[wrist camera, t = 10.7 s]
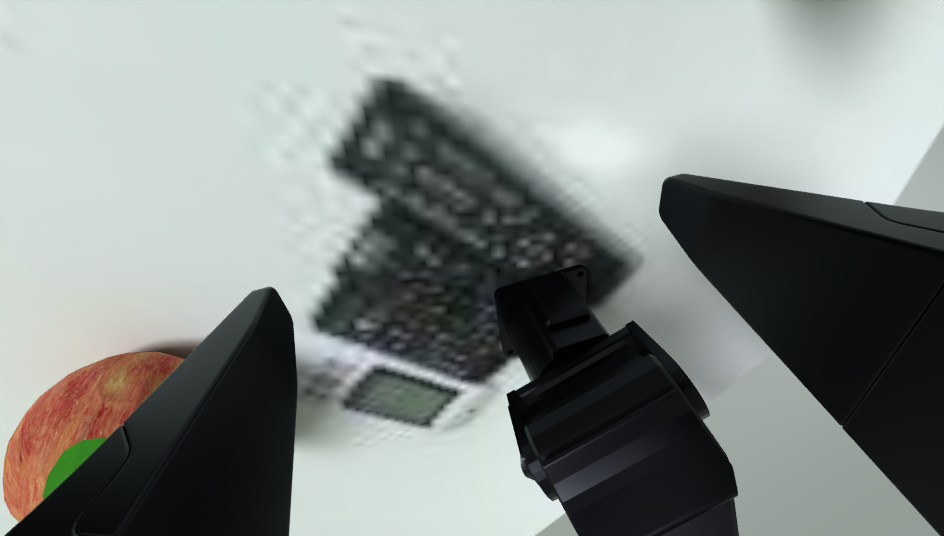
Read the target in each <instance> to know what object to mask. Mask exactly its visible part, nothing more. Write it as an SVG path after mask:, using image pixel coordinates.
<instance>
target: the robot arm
mask: <svg viewBox="0 0 944 536" xmlns="http://www.w3.org/2000/svg"><path fill="white" fill-rule="evenodd" d="M659 214H660V217H661V219H662V221H663V222H664V223H665V225H666V226H667V228H668V229H669V230H670V232H671V233H672V234H673V236H674V237H675V239H676V240H677V241H678V243H679V244H680V245H681V247H682V248H683V250H684V251H685V252H686V254H687V255H688V257H689V258H690V259H691V260H692V262H693V263H694V264H695V266H696V267H697V268H698V269H699V270H700V271H701V273H702V274H703V275H704V276H705V277H706V278H707V279H708V280H709V281H710V282H711V284H712V285H713V286H714V287H715V288H716V289H717V290H718V291H719V292H720V293H721V295H722V296H723V297H724V298H725V299H726V300H727V301H728V302H729V303H730V304H731V306H732V307H733V308H734V309H735V310H736V311H737V312H738V313H739V314H740V315H741V317H742V318H743V319H744V320H745V321H746V322H747V323H748V324H749V325H750V326H751V328H752V329H753V330H754V331H755V332H756V333H757V334H758V335H759V336H760V337H761V339H762V340H763V341H764V342H765V343H766V344H767V345H768V346H769V347H770V348H771V350H772V351H773V352H774V353H775V354H776V355H777V356H778V357H779V358H780V359H781V360H782V362H783V363H784V364H785V365H786V366H787V367H788V368H789V369H790V370H791V372H792V373H793V374H794V375H795V376H796V377H797V378H798V379H799V380H800V381H801V383H802V384H803V385H804V386H805V387H806V388H807V389H808V390H809V391H810V392H811V394H812V395H813V396H814V397H815V398H816V399H817V400H818V401H819V402H820V403H821V405H822V406H823V407H824V408H825V409H826V410H827V411H828V412H829V413H830V414H831V416H832V417H833V418H834V419H835V420H836V421H837V422H838V423H839V424H840V425H842V426H843V427H842V428H843V429H844V430H845V431H846V433H847V434H848V435H849V436H850V437H851V438H852V439H853V440H854V441H855V442H856V443H857V445H858V446H859V447H860V448H861V449H862V450H863V451H864V452H865V453H866V455H868V457H869V458H870V459H871V460H872V461H873V462H874V463H875V464H876V466H877V467H878V468H879V469H880V470H881V471H882V472H883V473H884V474H885V475H886V477H887V478H888V479H889V480H890V481H891V482H892V483H893V484H894V485H895V486H896V488H897V489H898V490H899V491H900V492H901V493H902V494H903V495H904V496H905V498H906V499H907V500H908V501H909V502H910V503H911V504H912V505H913V506H914V507H915V509H916V510H917V511H918V512H919V513H920V514H921V515H922V516H923V517H924V518H925V520H926V521H927V522H928V523H929V524H930V525H931V526H932V527H933V528H934V529H935V531H936V532H937V533H938V534H939V535H940V536H944V212H936V211H928V210H921V209H914V208H907V207H900V206H893V205H886V204H880V203H873V202H865V203H864V202H863V201H860V200H853V199H847V198H840V197H833V196H827V195H820V194H814V193H807V192H801V191H794V190H788V189H781V188H775V187H768V186H761V185H755V184H748V183H742V182H735V181H729V180H722V179H716V178H709V177H702V176H696V175H689V174H679V175H675V176H672V177H668V178H667V179H665V180H664V182H663V185H662V192H661V199H660V206H659ZM580 271H581V272H580ZM578 272H580V273H578ZM577 273H578V274H577ZM502 294H504V295H503V296H501V295H502ZM586 295H587V270H586V269H585V268H584V266H583V265H576V266H573V267H570V268H566V269H563V270H559V271H556V272H552V273H549V274H546V275H542V276H539V277H535V278H532V279H529V280H525V281H522V282H518V283H515V284H511V285H508V286H505V287H501V288H499V289H497V290H496V291H495V293H494V298H495V305H496V311H497V318H498V324H499V331H500V337H501V344H502V350H503V352H504V355H505V356H507V357H510V356H514V355H517V354H518V356H519V358H520V360H521V362H522V364H523V366H524V368H525V370H526V372H527V375H528V377H529V379H530V381H531V382H530V383H528V384H526V385H525V386H523V387H521V388H519V389H518V390H516V391H515V390H513V391H511V392H510V393H508V394H507V398H508V402H509V406H508V409H509V413H510V417H511V421H512V424H513V428H514V432H515V436H516V440H517V444H518V448H519V451H520V459H521V468H522V471H523V473H524V475H525V476H526V477H527V478H530V479H532V480H535V481H536V482H537V484H538V485H539V486H540V487H541V489H542V490H543V492H544V493H545V494H546V496H547V497H548V498H549V499H550V500H552V501H554V500H556V499H559V501H560V502H561V504H562V506H563V508H564V510H565V512H566V514H567V515H568V517H569V519H570V521H571V523H572V525H573V527H574V528H575V530H576V532H577V534H578V535H579V536H739V533H738V525H737V518H736V510H735V502H734V497H736V496H738V491H737V485H736V481H735V476H734V471H733V467H732V465H731V463H730V462H729V460H728V457H727V455H726V454H725V452H724V451H723V449H722V448H721V446H720V445H719V443H718V442H717V441H716V439H715V438H714V436H713V435H712V433H711V432H710V431H709V429H708V428H707V426H706V425H705V424H704V422H703V419H705V418H707V417H708V416H710V413H709V410H708V408H707V406H706V404H705V402H704V400H703V398H702V397H701V395H700V394H699V392H698V391H697V389H696V388H695V386H694V385H693V383H692V382H691V380H690V379H689V378H688V376H687V375H686V374H685V373H684V371H683V370H682V369H681V368H680V366H679V365H678V364H677V363H676V362H675V361H674V360H673V359H672V358H671V356H670V355H669V354H667V353H666V352H665V351H664V350H663V349H662V348H661V347H660V346H659V345H658V344H657V343H656V342H655V341H654V340H653V339H652V338H651V337H650V336H649V335H648V334H647V333H646V332H645V331H644V330H643V329H642V328H641V327H640V326H639V325H637V324H636V323H635V322H634V321H631V322H630V323H628V324H626V325H625V326H626V327H624V328H623V329H621V330H619V331H617V332H616V333H614V334H612V335H609V333H608V332H607V331H606V329H605V328H604V327H603V325H602V324H601V323H600V321H599V320H598V318H597V317H596V316H595V314H594V313H593V312H592V310H591V309H590V308H589V306H588V305H587V304H586ZM296 407H297V369H296V355H295V342H294V328H293V321H292V317H291V315H290V313H289V311H288V310H287V308H286V306H285V304H284V303H283V301H282V299H281V297H280V296H279V294H278V292H277V291H276V290H275V289H274V288H273V287H266V288H263V289H259V290H255V291H253V292H251V293H250V294H249V295H248V296H247V297H246V298H245V299H244V300H243V301H242V302H241V303H240V304H239V305H238V306H237V307H236V308H235V309H234V310H233V311H232V312H231V313H230V314H229V315H228V316H227V317H226V318H225V319H224V320H223V321H222V322H221V323H220V324H219V325H218V326H217V327H216V328H215V329H214V330H213V331H212V332H211V333H210V334H209V335H208V336H207V337H206V339H205V340H204V341H203V342H202V343H201V344H200V345H199V346H198V347H197V348H196V349H195V350H194V351H193V352H192V353H191V354H190V355H189V356H188V357H187V358H186V359H185V360H184V361H183V362H182V363H181V364H180V365H179V366H178V367H177V368H176V369H175V370H174V371H173V372H172V373H171V374H170V375H169V376H168V377H167V378H166V379H165V380H164V381H163V382H162V383H161V384H160V385H159V386H158V387H157V388H156V389H155V390H154V391H153V392H152V393H151V394H150V395H149V396H148V397H147V398H146V399H145V400H144V401H143V402H142V404H141V405H140V406H139V407H138V408H137V409H136V410H135V411H134V412H133V413H132V414H131V415H130V416H129V417H128V418H127V419H126V420H125V421H124V422H123V425H124V426H123V425H121V426H119V427H118V428H117V429H116V430H115V431H114V432H113V433H112V434H111V435H110V436H109V437H108V438H107V439H106V440H105V441H104V442H103V443H102V444H101V445H100V446H99V447H98V448H97V449H96V450H95V451H94V452H93V453H92V454H91V455H90V456H89V457H88V458H87V459H86V460H85V461H84V462H83V463H82V464H81V465H80V466H79V467H78V468H77V469H76V470H75V471H74V472H73V473H72V474H71V475H70V476H68V477H67V478H66V479H65V480H64V481H63V482H62V483H61V484H60V485H59V486H58V487H57V488H56V489H55V490H53V491H52V492H51V493H50V494H49V495H48V496H47V497H46V498H45V499H44V500H43V501H42V502H41V503H39V504H38V505H37V506H36V507H35V508H34V509H33V510H32V511H31V512H30V513H29V514H28V515H26V516H25V517H24V518H23V519H22V520H21V521H20V522H19V523H18V524H17V525H16V526H14V527H13V528H12V529H11V530H10V531H9V532H8V533H7V534H6V535H5V536H289V526H290V509H291V492H292V475H293V458H294V441H295V424H296Z"/></svg>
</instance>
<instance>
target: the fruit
mask: <svg viewBox="0 0 944 536" xmlns="http://www.w3.org/2000/svg"><path fill="white" fill-rule="evenodd" d="M184 360H185V359H183V358H180V357H176V356H173V355H170V354H165V353H160V352H137V353H125V354H121V355H116V356H112V357H108V358H105V359H103V360H100V361H98V362H95V363H93V364H90V365H88V366H85V367H83V368H81V369H79V370H77V371H75V372H73V373H71V374H69V375H67V376H66V377H65V378H63V379H62V380H61V381H59V382H58V383H57V384H56V385H54V386H53V387H52V388H50V389H49V390H48V391H46V392H45V393H44V394H42V395H41V396H40V397H39V398H38V399H37V401H36V402H35V403H34V404H33V405H32V406H31V408H30V409H29V410H28V411H27V412H26V414H25V415H24V417H23V418H22V420H21V422H20V423H19V425H18V427H17V428H16V430H15V432H14V433H13V435H12V437H11V438H10V440H9V442H8V447H7V451H6V455H5V460H4V472H3V489H4V500H5V502H6V504H7V507H8V509H9V511H10V513H11V515H12V516H13V517H14V518H15V519H16V520H17V521H18V522H20V521H21V520H22V519H23V518H24V517H25V516H26V515H28V514H29V513H30V512H31V511H32V510H33V509H34V508H35V507H36V506H37V505H38V504H39V503H41V502H42V501H43V500H44V499H45V498H46V497H47V496H48V495H49V494H50V493H51V492H52V491H53V490H55V489H56V488H57V487H58V486H59V485H60V484H61V483H62V482H63V481H64V480H65V479H66V478H67V477H68V476H70V475H71V474H72V473H73V472H74V471H75V470H76V469H77V468H78V467H79V466H80V465H81V464H82V463H83V462H84V461H85V460H86V459H87V458H88V457H89V456H90V455H91V454H92V453H93V452H94V451H95V450H96V449H97V448H98V447H99V446H100V445H101V444H102V443H103V442H104V441H105V440H106V439H107V438H108V437H109V436H110V435H111V434H112V433H113V432H114V431H115V430H116V429H117V428H118V427H119V426H121V425H123V422H124V421H125V420H126V419H127V418H128V417H129V416H130V415H131V414H132V413H133V412H134V411H135V410H136V409H137V408H138V407H139V406H140V405H141V404H142V402H143V401H144V400H145V399H146V398H147V397H148V396H149V395H150V394H151V393H152V392H153V391H154V390H155V389H156V388H157V387H158V386H159V385H160V384H161V383H162V382H163V381H164V380H165V379H166V378H167V377H168V376H169V375H170V374H171V373H172V372H173V371H174V370H175V369H176V368H177V367H178V366H179V365H180V364H181V363H182V362H183V361H184ZM123 426H124V425H123Z"/></svg>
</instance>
